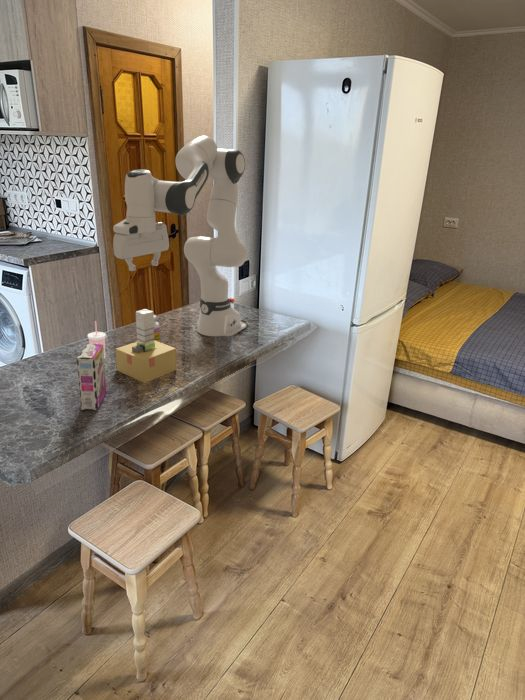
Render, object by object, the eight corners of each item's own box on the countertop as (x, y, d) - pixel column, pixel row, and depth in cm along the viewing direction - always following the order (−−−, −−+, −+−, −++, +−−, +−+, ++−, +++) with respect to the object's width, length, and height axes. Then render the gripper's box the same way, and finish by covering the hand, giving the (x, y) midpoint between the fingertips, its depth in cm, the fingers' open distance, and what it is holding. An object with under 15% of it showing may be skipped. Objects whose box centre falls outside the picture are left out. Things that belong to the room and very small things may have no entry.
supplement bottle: (155, 352, 180) (154, 319, 175) (139, 350, 181) (137, 317, 176) (162, 346, 186) (161, 314, 181) (146, 344, 187) (145, 312, 182)
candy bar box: (98, 411, 139) (94, 358, 132) (80, 410, 138) (75, 358, 132) (107, 393, 149) (103, 343, 143) (91, 392, 149) (86, 343, 142)
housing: (149, 358, 175) (148, 334, 171) (176, 369, 167) (176, 344, 163) (116, 370, 164) (114, 344, 160) (144, 383, 156) (143, 356, 153)
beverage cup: (96, 353, 176) (93, 317, 171) (111, 356, 175) (108, 319, 169) (85, 359, 171) (82, 322, 165) (100, 362, 169) (97, 325, 164)
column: (147, 353, 166) (145, 308, 160) (155, 356, 164) (153, 311, 158) (137, 356, 163) (135, 311, 157) (145, 360, 161) (143, 314, 155)
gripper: (159, 220, 161) (161, 261, 167) (108, 227, 146) (112, 271, 152) (172, 222, 158) (174, 264, 164) (122, 230, 143) (125, 275, 149)
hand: (143, 268), depth 158 cm, fingers open, 8 cm apart
